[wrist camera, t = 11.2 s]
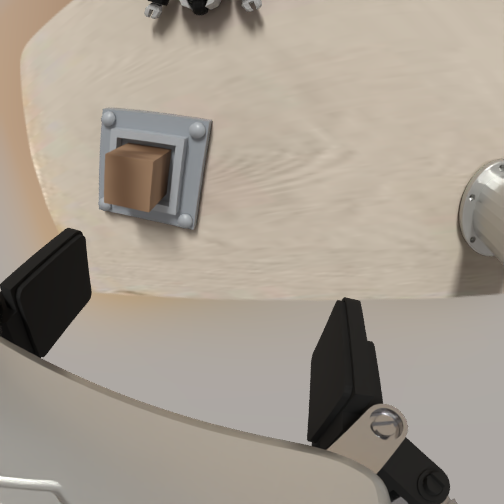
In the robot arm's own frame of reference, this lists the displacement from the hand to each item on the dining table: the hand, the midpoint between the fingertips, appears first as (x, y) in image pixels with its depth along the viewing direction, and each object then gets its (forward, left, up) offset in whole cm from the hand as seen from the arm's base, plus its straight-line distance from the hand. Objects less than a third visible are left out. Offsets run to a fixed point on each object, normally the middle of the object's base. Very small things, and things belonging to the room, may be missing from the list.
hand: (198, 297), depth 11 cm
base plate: (+11, +4, -24) cm, 27 cm away
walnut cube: (+11, +4, -23) cm, 25 cm away
